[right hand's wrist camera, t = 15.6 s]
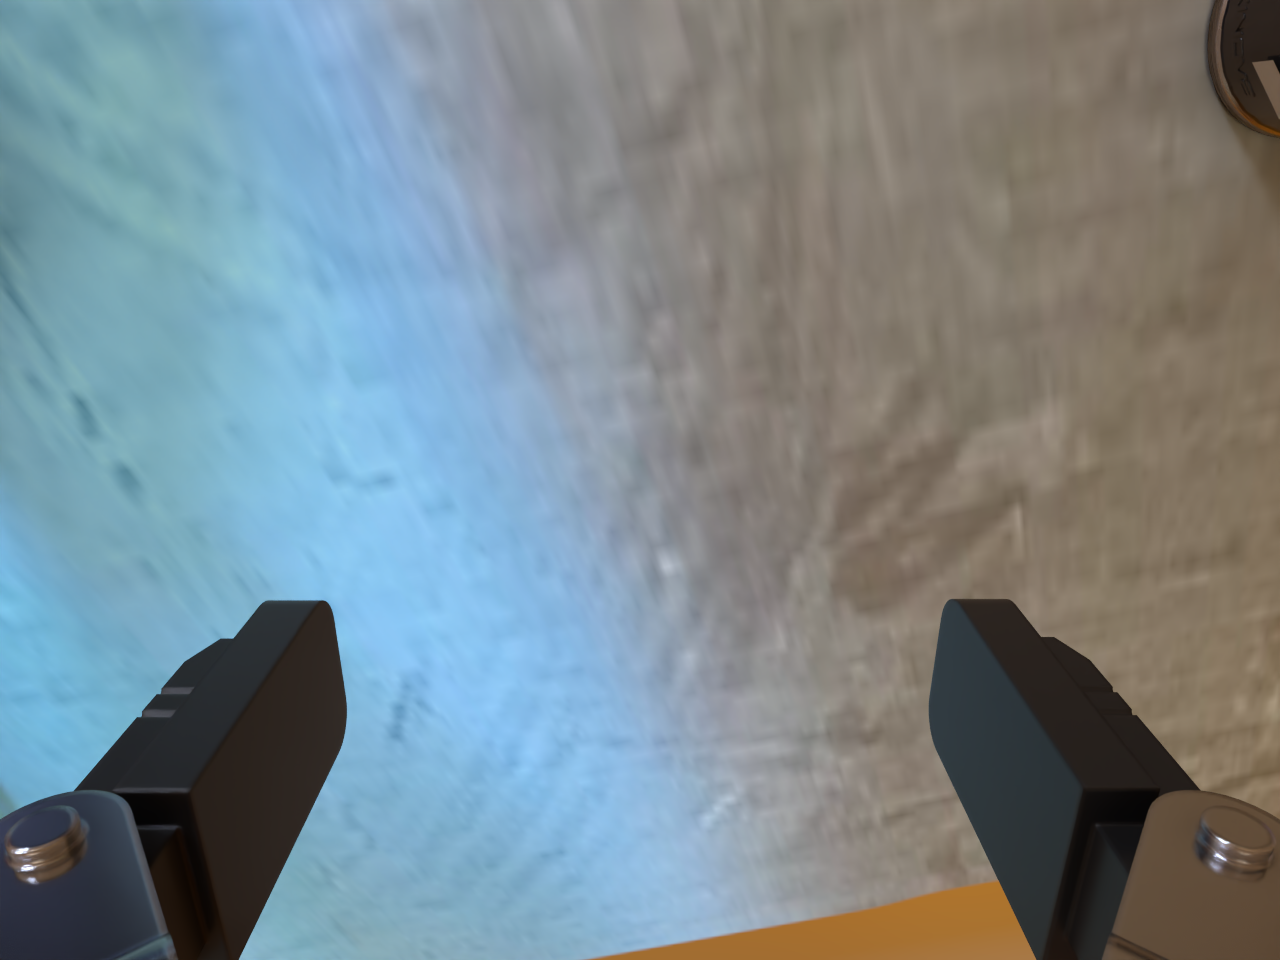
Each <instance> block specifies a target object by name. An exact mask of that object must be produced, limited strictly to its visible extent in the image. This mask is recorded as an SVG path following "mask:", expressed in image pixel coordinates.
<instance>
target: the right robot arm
mask: <svg viewBox="0 0 1280 960" xmlns="http://www.w3.org/2000/svg"><path fill="white" fill-rule="evenodd" d="M1208 62H1209V68H1210V73H1211V77H1212V80H1213V83H1214V86H1215V88H1216V91H1217V93H1218V95H1219V97H1220V99H1221V100H1222V102H1223V103H1224V105H1225V106H1226V108H1227V109H1228V110H1229V111H1230V112H1231V113H1232V115H1233V116H1234V117H1235V118H1237V119H1238V120H1239V121H1240V122H1241V123H1243V124H1244V125H1246V126H1247V127H1249V128H1251V129H1253V130H1255V131H1257V132H1259V133H1262V134H1265V135H1268V136H1273V137H1278V138H1280V0H1216V1H1215V4H1214V7H1213V11H1212V15H1211V20H1210V25H1209V33H1208ZM161 690H162V691H161V694H157V695H156V696H155V697H154V698H153V699H152V700H151V702H150V703H149V704H148V705H147V706H146V707H145V709H144V710H143V711H142V717H137V718H136V719H135V720H134V721H133V723H132V724H131V725H130V726H129V727H128V728H127V730H126V731H125V732H124V733H123V734H122V735H121V737H120V738H119V739H118V740H117V741H116V742H115V744H114V745H113V746H112V747H111V748H110V749H109V751H108V752H107V753H106V754H105V755H104V756H103V758H102V759H101V760H100V761H99V762H98V763H97V765H96V766H95V767H94V768H93V769H92V770H91V772H90V773H89V774H88V775H87V776H86V777H85V779H84V780H83V781H82V782H81V783H80V784H79V786H78V787H77V788H76V789H75V790H74V791H73V792H67V793H62V794H58V795H54V796H51V797H48V798H44V799H41V800H38V801H36V802H34V803H31V804H29V805H26V806H24V807H22V808H20V809H18V810H16V811H14V812H12V813H10V814H9V815H7V816H5V817H4V818H2V819H0V960H239V958H240V956H241V954H242V952H243V949H244V947H245V945H246V943H247V941H248V939H249V937H250V935H251V933H252V931H253V929H254V927H255V925H256V923H257V921H258V919H259V916H260V914H261V912H262V910H263V908H264V906H265V904H266V902H267V900H268V898H269V896H270V894H271V892H272V890H273V888H274V885H275V883H276V881H277V879H278V877H279V875H280V873H281V871H282V869H283V867H284V865H285V863H286V861H287V859H288V857H289V854H290V852H291V850H292V848H293V846H294V844H295V842H296V840H297V838H298V836H299V834H300V832H301V830H302V828H303V826H304V824H305V821H306V819H307V817H308V815H309V813H310V811H311V809H312V807H313V805H314V803H315V801H316V799H317V797H318V795H319V793H320V790H321V788H322V786H323V784H324V782H325V780H326V778H327V776H328V774H329V772H330V770H331V768H332V766H333V764H334V762H335V759H336V757H337V755H338V753H339V751H340V749H341V746H342V743H343V739H344V734H345V729H346V719H347V703H346V695H345V688H344V682H343V675H342V668H341V662H340V655H339V648H338V642H337V635H336V628H335V622H334V616H333V612H332V609H331V607H330V605H329V604H328V603H327V602H326V601H265V602H263V603H262V604H261V605H260V606H259V607H258V609H257V610H256V611H255V612H254V614H253V615H252V616H251V617H250V619H249V620H248V621H247V622H246V624H245V625H244V626H243V627H242V629H241V630H240V631H239V632H238V634H237V635H236V636H235V637H234V639H219V640H218V641H216V642H215V643H213V644H212V645H210V646H209V647H207V648H205V649H204V650H202V651H201V652H199V653H198V654H196V655H194V656H193V657H191V658H190V659H188V660H187V661H185V662H184V663H183V664H182V665H181V667H180V668H179V669H178V670H177V671H176V672H175V674H174V675H173V676H172V677H171V678H170V679H169V681H168V682H167V683H166V684H165V685H164V686H163V688H162V689H161ZM929 722H930V729H931V735H932V739H933V742H934V745H935V748H936V750H937V753H938V755H939V757H940V759H941V761H942V763H943V765H944V767H945V769H946V771H947V773H948V776H949V778H950V780H951V782H952V784H953V786H954V788H955V790H956V792H957V794H958V796H959V799H960V801H961V803H962V805H963V807H964V809H965V811H966V813H967V815H968V817H969V819H970V822H971V824H972V826H973V828H974V830H975V832H976V834H977V836H978V838H979V840H980V842H981V845H982V847H983V849H984V851H985V853H986V855H987V857H988V859H989V861H990V863H991V865H992V868H993V870H994V872H995V874H996V876H997V878H998V880H999V882H1000V884H1001V886H1002V888H1003V891H1004V893H1005V895H1006V897H1007V899H1008V901H1009V903H1010V905H1011V907H1012V909H1013V911H1014V914H1015V916H1016V918H1017V920H1018V922H1019V924H1020V926H1021V928H1022V930H1023V932H1024V934H1025V937H1026V939H1027V941H1028V943H1029V945H1030V947H1031V949H1032V951H1033V953H1034V955H1035V957H1036V960H1280V819H1278V818H1276V817H1275V816H1273V815H1271V814H1270V813H1268V812H1266V811H1264V810H1262V809H1260V808H1258V807H1256V806H1254V805H1251V804H1249V803H1246V802H1244V801H1242V800H1239V799H1236V798H1232V797H1229V796H1226V795H1222V794H1218V793H1213V792H1207V791H1201V790H1200V789H1199V788H1198V787H1197V786H1196V784H1195V783H1194V782H1193V781H1192V780H1191V779H1190V777H1189V776H1188V775H1187V774H1186V773H1185V772H1184V770H1183V769H1182V768H1181V767H1180V766H1179V764H1178V763H1177V762H1176V761H1175V760H1174V759H1173V757H1172V756H1171V755H1170V754H1169V753H1168V751H1167V750H1166V749H1165V748H1164V747H1163V746H1162V744H1161V743H1160V742H1159V741H1158V740H1157V739H1156V737H1155V736H1154V735H1153V734H1152V733H1151V731H1150V730H1149V729H1148V728H1147V727H1146V726H1145V724H1144V723H1143V722H1142V721H1141V720H1140V719H1139V717H1138V716H1137V715H1132V709H1131V708H1130V707H1129V706H1128V704H1127V703H1126V702H1125V701H1124V700H1123V699H1122V697H1121V696H1120V695H1119V694H1118V693H1117V692H1113V687H1112V686H1111V684H1110V683H1109V682H1108V681H1107V680H1106V679H1105V677H1104V676H1103V675H1102V674H1101V673H1100V671H1099V670H1098V669H1097V668H1096V667H1095V666H1094V664H1093V663H1092V662H1091V661H1090V660H1089V659H1087V658H1086V657H1084V656H1083V655H1081V654H1080V653H1078V652H1076V651H1075V650H1073V649H1072V648H1070V647H1069V646H1067V645H1066V644H1064V643H1062V642H1061V641H1059V640H1058V639H1056V638H1055V637H1041V636H1040V635H1039V634H1038V633H1037V631H1036V630H1035V629H1034V628H1033V626H1032V625H1031V624H1030V622H1029V621H1028V620H1027V619H1026V617H1025V616H1024V615H1023V614H1022V612H1021V611H1020V610H1019V609H1018V607H1017V606H1016V605H1015V604H1014V603H1013V602H1012V601H1011V600H1009V599H950V600H949V601H947V603H946V604H945V606H944V609H943V612H942V617H941V623H940V630H939V637H938V643H937V650H936V657H935V664H934V670H933V677H932V684H931V691H930V698H929Z"/></svg>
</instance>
